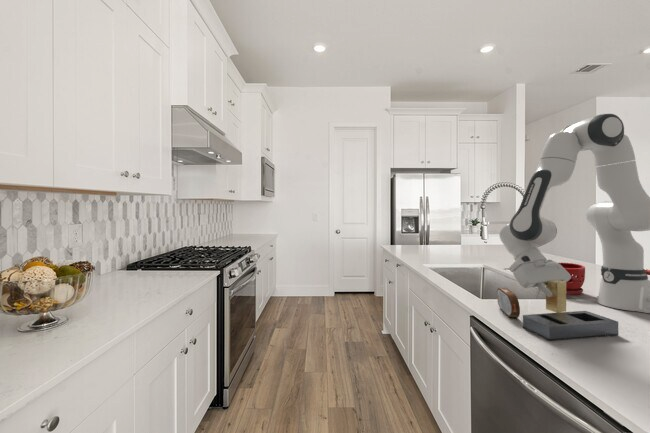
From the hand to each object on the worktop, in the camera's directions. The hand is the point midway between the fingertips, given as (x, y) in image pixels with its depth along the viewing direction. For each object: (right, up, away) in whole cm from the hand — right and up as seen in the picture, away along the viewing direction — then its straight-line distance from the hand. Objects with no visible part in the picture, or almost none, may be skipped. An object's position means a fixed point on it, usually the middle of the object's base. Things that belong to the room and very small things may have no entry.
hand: (557, 295), depth 108 cm
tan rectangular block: (0, -5, +1) cm, 5 cm away
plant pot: (+25, -6, +29) cm, 39 cm away
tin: (-15, -8, +4) cm, 17 cm away
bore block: (-6, -8, -13) cm, 16 cm away
